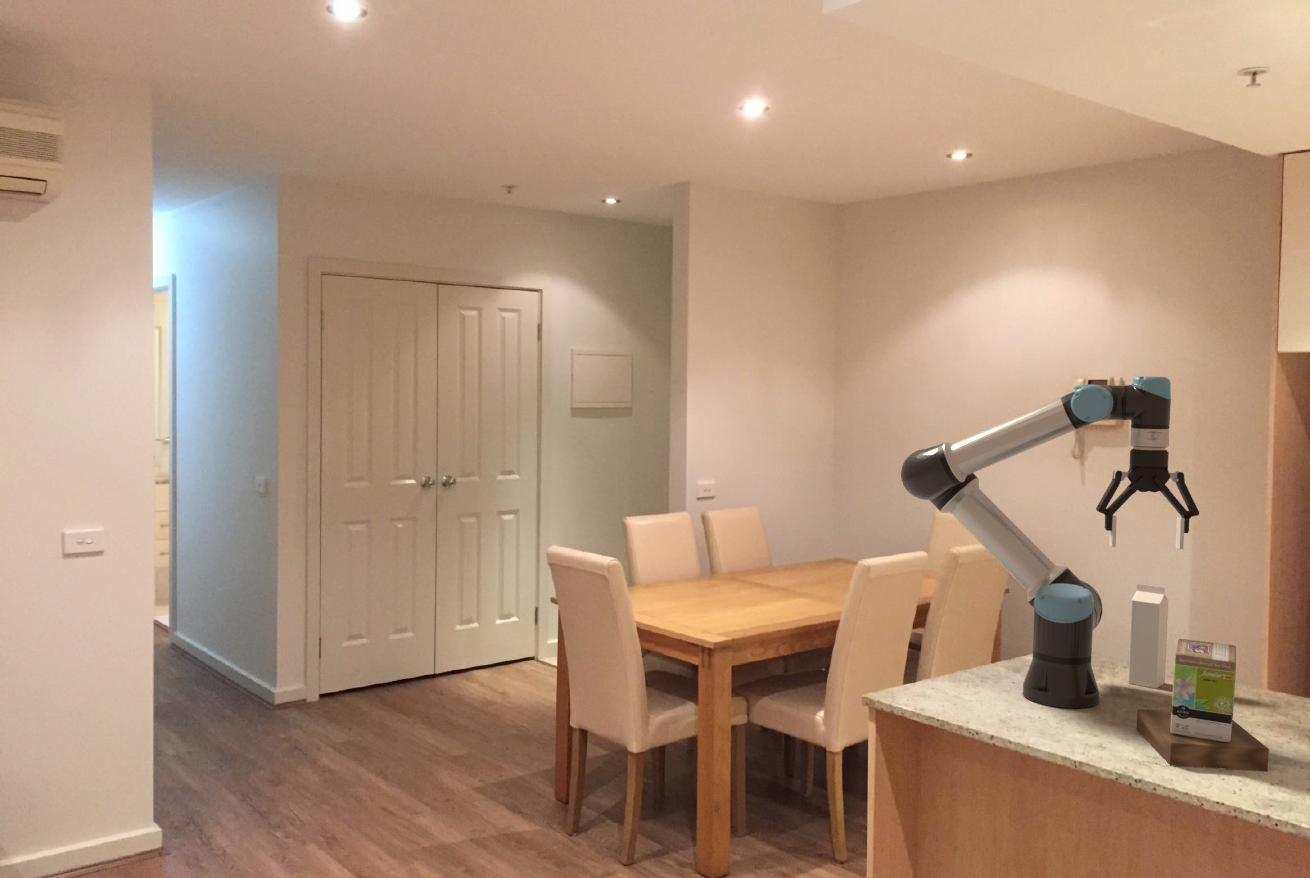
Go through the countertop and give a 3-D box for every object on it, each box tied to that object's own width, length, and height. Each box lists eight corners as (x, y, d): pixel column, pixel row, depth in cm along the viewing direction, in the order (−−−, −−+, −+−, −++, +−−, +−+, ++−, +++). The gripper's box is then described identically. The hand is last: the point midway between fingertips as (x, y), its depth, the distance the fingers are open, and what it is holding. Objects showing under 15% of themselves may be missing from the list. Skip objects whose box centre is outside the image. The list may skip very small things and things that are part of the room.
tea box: (1232, 744, 189) (1236, 660, 189) (1169, 734, 194) (1172, 653, 193) (1232, 721, 203) (1236, 643, 202) (1173, 712, 207) (1176, 636, 207)
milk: (1156, 689, 238) (1160, 589, 237) (1127, 683, 242) (1131, 585, 241) (1165, 683, 243) (1169, 586, 241) (1137, 678, 247) (1141, 582, 245)
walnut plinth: (1170, 765, 190) (1171, 743, 190) (1136, 729, 210) (1137, 709, 209) (1267, 771, 188) (1268, 748, 187) (1224, 734, 207) (1225, 714, 207)
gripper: (1091, 448, 230) (1088, 547, 231) (1217, 450, 226) (1213, 552, 227) (1084, 446, 238) (1080, 542, 239) (1206, 448, 233) (1202, 546, 235)
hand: (1145, 547), depth 233 cm, fingers open, 13 cm apart
